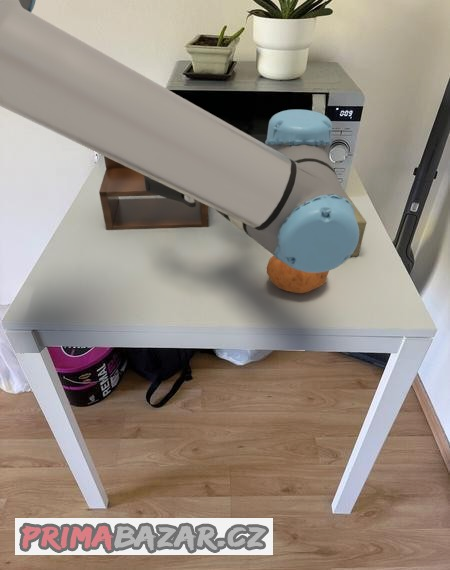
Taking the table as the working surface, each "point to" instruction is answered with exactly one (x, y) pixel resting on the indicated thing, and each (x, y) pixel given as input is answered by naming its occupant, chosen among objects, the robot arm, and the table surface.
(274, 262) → the potato
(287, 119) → the robot arm
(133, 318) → the table surface
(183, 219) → the shelf
